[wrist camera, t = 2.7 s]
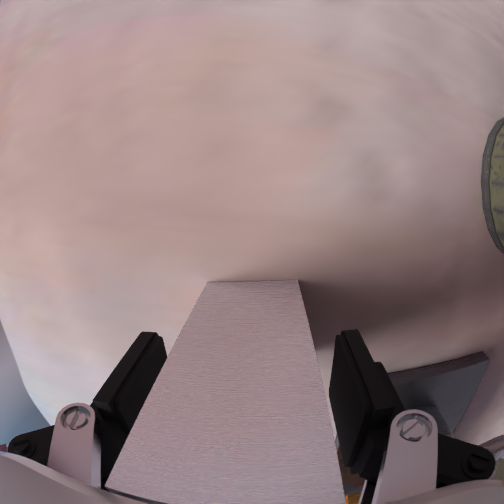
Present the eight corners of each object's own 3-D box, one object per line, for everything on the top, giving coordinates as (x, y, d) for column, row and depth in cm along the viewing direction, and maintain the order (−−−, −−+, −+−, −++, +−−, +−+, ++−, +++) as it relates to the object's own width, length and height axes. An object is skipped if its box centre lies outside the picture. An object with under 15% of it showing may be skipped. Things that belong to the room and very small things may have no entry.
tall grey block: (207, 282, 13) (104, 486, 3) (297, 279, 12) (346, 506, 3) (216, 355, 14) (165, 542, 4) (295, 354, 13) (315, 550, 4)
